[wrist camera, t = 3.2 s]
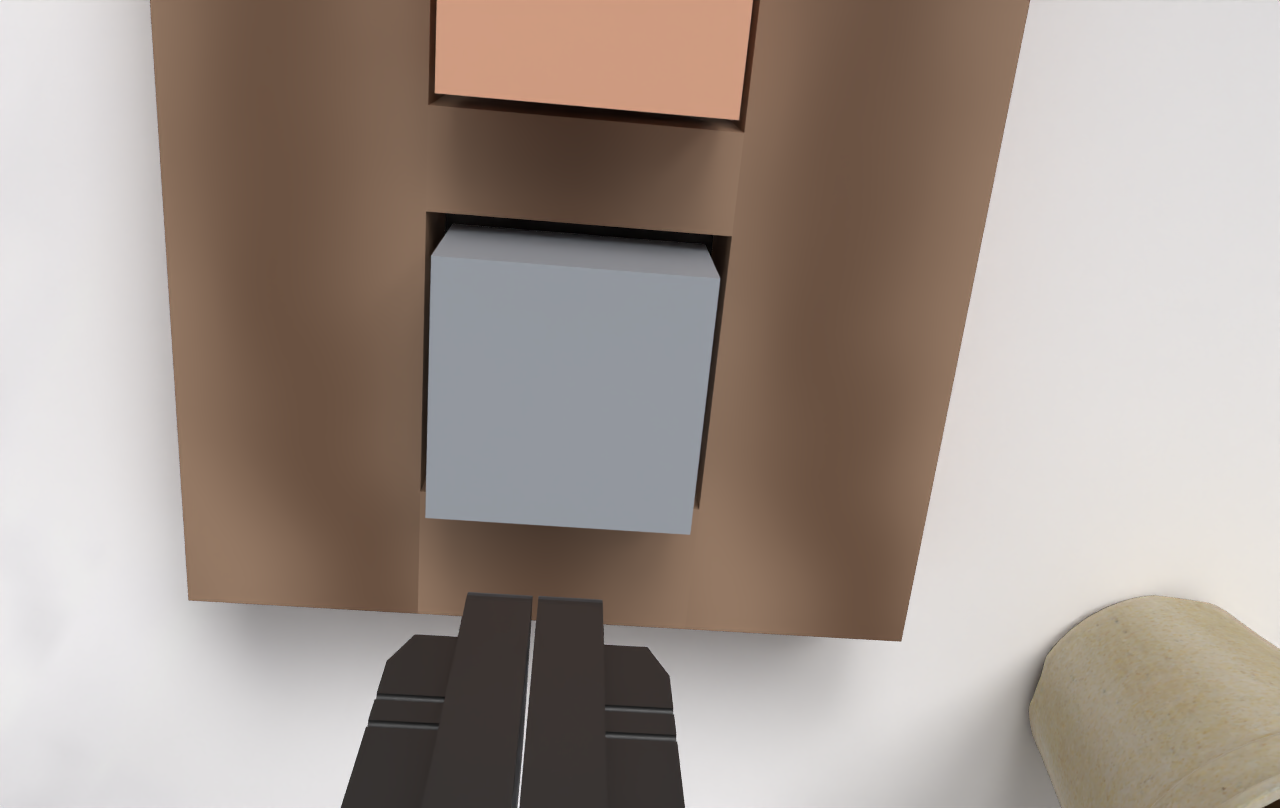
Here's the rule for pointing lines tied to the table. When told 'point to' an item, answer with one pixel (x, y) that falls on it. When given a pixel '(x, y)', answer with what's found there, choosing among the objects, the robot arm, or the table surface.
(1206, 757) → the flower pot
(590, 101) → the terracotta pad
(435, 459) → the grey pad
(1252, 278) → the table surface
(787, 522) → the button board
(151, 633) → the table surface
